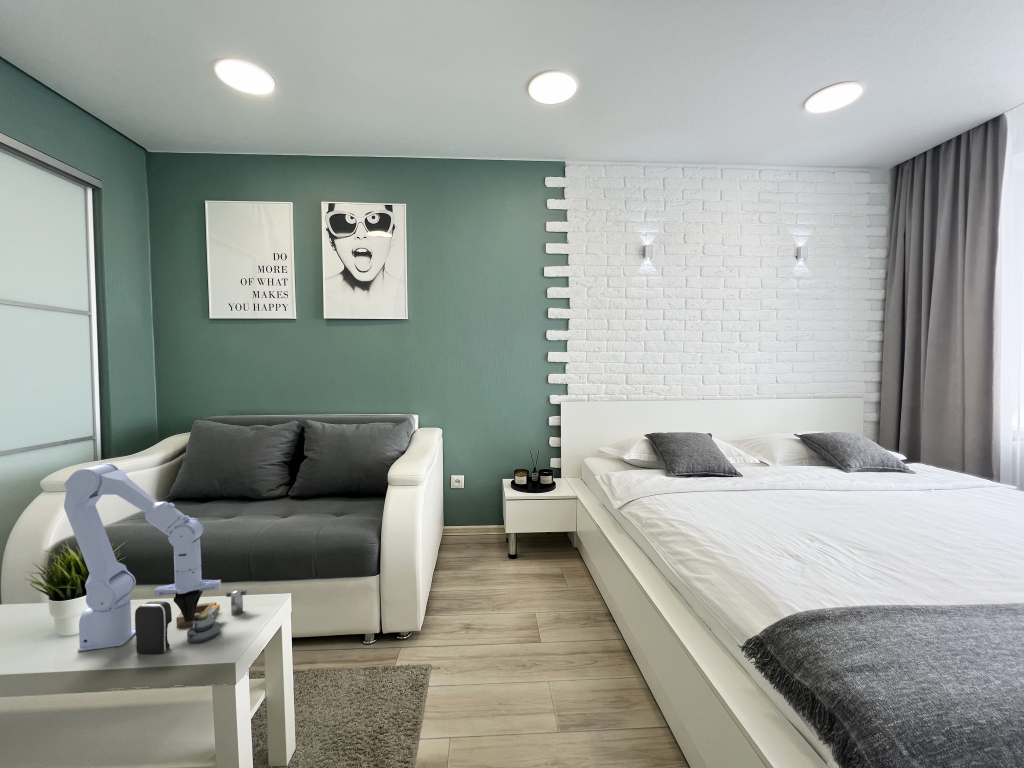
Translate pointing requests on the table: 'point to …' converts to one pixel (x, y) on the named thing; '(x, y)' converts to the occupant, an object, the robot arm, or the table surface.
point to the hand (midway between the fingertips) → (189, 619)
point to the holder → (199, 608)
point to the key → (236, 600)
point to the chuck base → (203, 632)
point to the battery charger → (152, 627)
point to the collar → (206, 620)
